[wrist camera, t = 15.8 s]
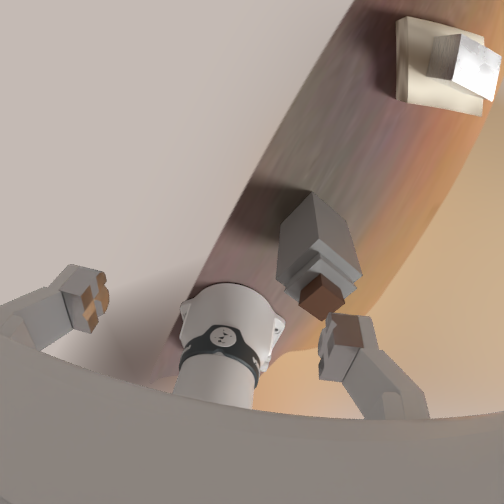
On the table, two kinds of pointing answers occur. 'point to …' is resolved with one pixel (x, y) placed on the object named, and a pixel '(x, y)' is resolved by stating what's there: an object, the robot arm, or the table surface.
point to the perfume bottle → (317, 257)
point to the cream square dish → (416, 65)
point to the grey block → (464, 65)
